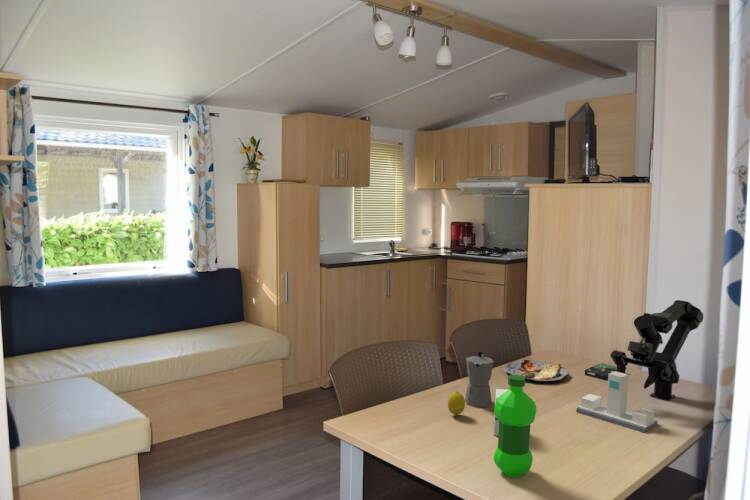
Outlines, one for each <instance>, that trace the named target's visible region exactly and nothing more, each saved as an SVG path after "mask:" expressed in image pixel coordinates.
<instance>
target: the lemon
mask: <svg viewBox="0 0 750 500" xmlns="http://www.w3.org/2000/svg"><path fill="white" fill-rule="evenodd" d="M465 407H466V402H465V396H464V395H463V394H462V393H460V392H459V391H457V390H456V391H455V392H452V393H451V394H450V395H449V397H448V399H447V408H448V411H449V412H450V413H451V414H453V415H454V416H456V417H457V416H458V415H461V414H462V413H463V412H464V410H465Z"/></svg>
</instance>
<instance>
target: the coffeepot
mask: <svg viewBox="0 0 750 500" xmlns="http://www.w3.org/2000/svg"><path fill="white" fill-rule="evenodd" d="M485 355H486V354H485V353H484V352H483V351H480V350H479V351H477V355H476V356H473V355H471V356H469V357H466V358H465V362H466V372H467V373H466V374H467V378H468V383H467V387H466V393H465V396H464V399H465V404H466V405H468V406H471V407H474V408H486V407H490V406H491V405H492V404H493V401H492V394H491V387H490V381H491V378H492V373H493V367H494V363H495V362H494V360H493V359H492V358H491V357H487V356H485Z"/></svg>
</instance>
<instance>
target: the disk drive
mask: <svg viewBox="0 0 750 500" xmlns="http://www.w3.org/2000/svg"><path fill="white" fill-rule="evenodd" d="M615 371H616V372H617V365H616V366H615V365H610V364H605V363H598V364H596V365H593V366H591V367H589V368H586V369H584V376H586V377H587V376H588V377H591V378H594V379H598V380H599V379H600V380H602V381H606V382H608V374H609V373H612V372H615ZM624 374H626V371H625V372H624Z"/></svg>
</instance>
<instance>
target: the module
mask: <svg viewBox="0 0 750 500" xmlns="http://www.w3.org/2000/svg"><path fill="white" fill-rule="evenodd" d="M628 388H629V374H628V373H627V374H626V373H625V374H624V373H620V372H616V371H615V372H612V373H609V374H608V381H607V391H606V406H607V407H606V413H608V414H611V415H614V416H617V417H621V416H623V415H625V414H626V412H627V408H628V406H627V404H628V391H629V389H628Z"/></svg>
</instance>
